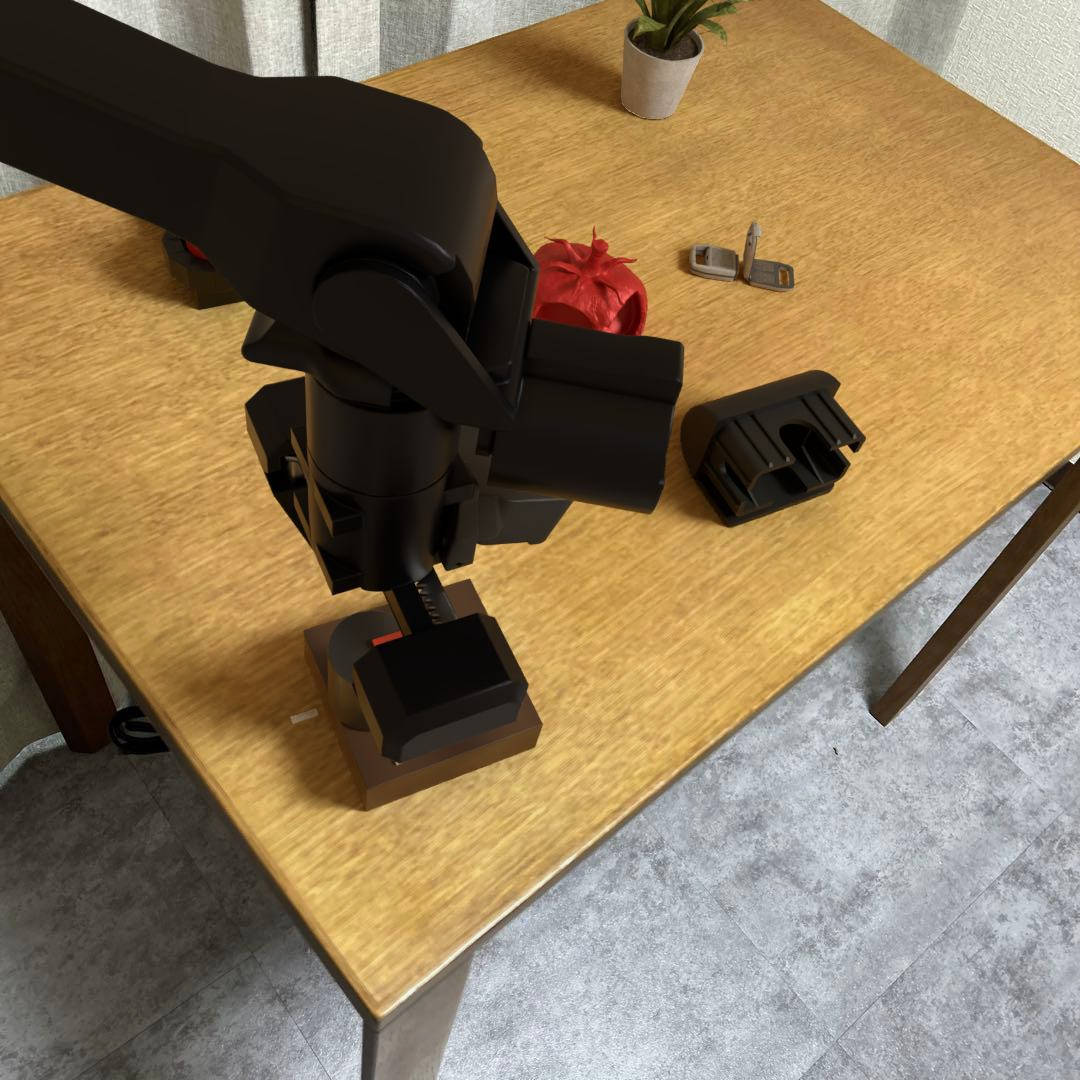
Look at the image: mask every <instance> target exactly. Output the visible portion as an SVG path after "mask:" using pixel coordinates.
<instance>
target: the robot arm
mask: <svg viewBox="0 0 1080 1080" xmlns="http://www.w3.org/2000/svg"><path fill="white" fill-rule="evenodd" d="M0 163H1V164H3V165H5V166H8V167H11V168H14V169H16V170H18V171H20V172H24V173H26V174H28V175H31V176H34V177H36V178H37V179H41V180H43V181H46V182H48V183H51V184H52V185H55V186H58V187H60V188H63V189H65V190H67V191H70V192H73V193H75V194H78V195H80V196H83V197H85V198H87V199H90V200H92V201H94V202H97V203H99V204H102V205H105V206H107V207H110V208H112V209H115V210H117V211H120V212H122V213H125V214H127V215H129V216H132V217H134V218H136V219H139V220H142V221H144V222H146V223H149V224H151V225H154V226H156V227H158V228H160V229H162V230H165V231H168V232H170V233H172V234H174V235H175V236H177V237H179V238H181V239H183V240H185V241H186V242H188V243H190V244H192V245H194V246H196V247H197V248H198V249H199V250H200V251H201V252H202V253H203V255H204V256H205V257H206V258H207V259H208V260H209V261H210V263H211V264H212V265H213V266H214V267H215V268H216V269H217V270H218V272H219V273H220V274H221V275H222V276H223V277H224V278H225V280H226V281H227V282H228V283H229V284H230V285H231V286H232V287H233V289H234V290H235V291H236V292H237V293H238V294H239V295H240V297H241V298H242V299H243V300H244V302H245V303H246V304H247V305H248V306H249V307H250V308H252V309H253V310H255V311H254V313H253V315H252V319H251V321H250V323H249V327H248V329H247V331H246V335H245V337H244V339H243V341H242V345H241V347H240V354H241V356H242V358H243V359H244V360H246V361H247V362H251V363H252V364H253V363H254V364H259V365H264V366H269V367H275V368H279V369H286V370H290V371H297V372H301V373H304V375H302V376H297V377H293V378H289V379H284V380H279V381H274V382H270V383H266V384H264V385H262V386H261V387H260V388H259V389H258V390H257V391H256V392H255V393H254V394H253V395H252V396H251V397H250V398H249V399H248V400H247V401H246V402H245V403H244V404H243V405H244V413H245V424H246V432H247V435H248V437H249V439H250V441H251V445H252V446H253V449H254V451H255V454H256V456H257V460H258V462H259V464H260V468H261V469H262V472H263V475H264V477H265V479H266V481H267V484H268V486H269V488H270V491H271V494H272V497H274V498H275V500H276V502H277V503H278V504H279V506H280V507H281V508H282V510H283V511H284V513H285V514H286V515H287V517H288V519H290V521H291V522H292V524H293V525H294V526H295V528H296V529H297V531H298V532H299V534H300V535H301V536H302V537H303V539H304V540H305V542H306V543H307V544H308V546H309V547H310V549H311V550H312V552H313V553H314V556H315V557H316V558H315V559H316V560H317V563H318V565H319V567H320V570H321V572H322V574H323V578H324V579H325V582H326V584H327V587H328V589H329V591H330V593H331V596H337V595H340V594H343V593H346V592H349V591H353V590H356V589H361V590H362V591H365V592H370V593H371V592H372V593H373V592H374V593H382V594H383V596H384V598H385V601H386V602H387V603H386V604H388V605H389V607H390V609H391V612H392V614H393V616H394V618H395V620H396V623H397V625H398V627H399V629H400V632H401V634H402V636H403V637H400V638H397V639H394V640H391V641H388V642H384V643H381V644H378V645H375V646H374V647H373V648H372V649H370V650H369V651H368V652H367V653H366V654H364V655H363V656H362V657H361V658H359V659H358V660H357V661H356V662H355V663H353V675H352V677H353V681H354V683H352V687H353V690H354V692H355V695H356V697H357V699H358V702H359V704H360V707H361V709H362V712H363V714H364V716H365V719H366V721H367V724H368V726H369V729H370V731H371V733H372V735H373V737H374V740H375V742H376V744H377V747H378V749H379V752H380V754H381V756H382V757H384V758H387V759H389V760H392V761H394V762H397V763H399V764H401V763H403V762H406V761H409V760H412V759H414V758H417V757H420V756H423V755H425V754H428V753H431V752H434V751H436V750H439V749H442V748H444V747H447V746H450V745H453V744H455V743H458V742H461V741H464V740H466V739H469V738H472V737H474V736H477V735H480V734H483V733H485V732H488V731H491V730H494V729H496V728H499V727H502V726H504V725H507V724H510V723H513V722H515V721H516V720H517V718H518V715H519V713H520V710H521V708H522V705H523V702H524V699H525V696H526V693H528V689H529V686H530V684H529V682H528V680H527V678H526V676H525V674H524V671H523V669H522V668H521V666H520V664H519V662H518V660H517V658H516V657H515V656H516V655H515V654H514V651H513V649H512V648H511V646H510V644H509V642H508V640H507V638H506V636H505V634H504V632H503V630H502V628H501V626H500V624H499V622H498V620H497V618H496V617H495V616H491V615H489V614H488V615H489V616H488V615H485V614H481V613H474V614H471V615H468V616H465V617H462V618H459V619H458V617H457V615H456V613H455V611H454V608H453V606H452V604H451V602H450V600H449V598H448V596H447V594H446V592H445V590H444V588H443V584H442V582H441V580H440V577H439V575H438V574H437V572H436V569H435V567H434V566H436V565H440V564H441V566H442V567H443V569H444V571H445V572H450V571H453V570H457V569H460V568H463V567H466V566H471V565H473V564H474V559H475V555H476V549H477V545H479V546H497V545H499V546H500V545H511V544H524V543H525V544H526V543H527V544H528V545H530V546H534V545H535V546H536V545H540V544H543V543H545V541H546V540H547V539H548V538H549V536H550V535H551V534H552V532H553V531H554V529H555V528H556V527H557V525H558V523H560V522H561V519H562V518H563V517H564V515H565V514H566V513H567V511H568V509H569V508H570V507H571V506H572V504H573V503H574V502H576V503H583V504H587V505H593V506H599V507H605V508H609V509H610V508H611V509H614V510H615V509H616V510H622V511H626V512H632V513H638V514H643V515H652V514H653V512H654V511H655V510H656V507H657V506H658V504H659V501H660V499H661V496H662V494H663V490H664V488H665V482H666V467H667V465H666V464H667V454H668V450H669V445H670V441H671V437H672V431H673V424H674V420H675V419H674V418H675V411H676V405H677V402H678V400H679V397H680V395H681V392H682V388H683V387H684V386H683V385H684V371H685V370H684V368H685V367H684V365H685V345H684V344H683V343H682V342H681V341H679V340H675V339H670V338H669V339H668V338H663V337H658V336H652V335H641V336H631V335H620V334H615V333H609V332H604V331H599V330H594V329H589V328H584V327H578V326H573V325H568V324H563V323H558V322H553V321H547V320H542V319H537V318H532V315H533V309H534V303H535V297H536V291H537V284H538V278H539V272H540V265H539V263H538V261H537V260H536V258H535V257H534V253H533V252H532V250H531V249H530V248H529V246H528V244H527V243H526V241H525V239H524V238H523V236H522V235H521V233H520V232H519V230H518V229H517V227H516V226H515V224H514V222H513V221H512V219H511V217H510V216H509V215H508V213H507V212H506V210H505V208H504V207H503V205H502V203H501V202H500V200H499V198H498V186H497V176H496V172H495V171H494V168H493V167H492V164H491V162H490V159H489V157H488V155H487V153H486V151H485V149H484V142H483V140H482V138H481V137H480V136H479V135H478V134H477V133H476V132H475V131H474V130H473V129H472V128H471V127H470V126H469V125H468V124H467V123H466V122H464V121H463V120H461V119H460V118H459V117H457V116H455V115H454V114H453V113H452V112H450V111H448V110H446V109H443V108H442V107H438V106H436V105H433V104H431V103H428V102H425V101H422V100H418V99H415V98H411V97H408V96H405V95H401V94H398V93H394V92H391V91H388V90H385V89H381V88H377V87H374V86H371V85H368V84H364V83H361V82H358V81H354V80H350V79H348V78H345V77H341V76H337V75H300V76H298V75H293V76H291V75H290V76H258V75H253V74H250V73H246V72H242V71H239V70H235V69H233V68H229V67H226V66H222V65H220V64H216V63H214V62H212V61H209V60H207V59H206V58H205V59H204V58H203V57H200V56H199V55H196V54H193V53H192V52H190V51H186V50H185V49H183V48H181V47H178V46H177V45H174V44H171V43H169V42H167V41H164V40H163V39H161V38H158V37H156V36H154V35H153V34H150V33H147V32H145V31H143V30H141V29H138V28H136V27H134V26H132V25H129V24H128V23H125V22H124V21H120V20H118V19H117V18H114V17H112V16H109V15H107V14H106V13H103V12H101V11H99V10H97V9H94V8H92V7H90V6H89V5H88V6H87V5H86V4H83V3H81V2H79V1H76V0H0ZM422 597H425V598H424V599H422ZM425 605H428V606H427V608H426V606H425ZM429 612H433V613H431V614H429ZM432 620H436V621H434V623H433V621H432Z"/></svg>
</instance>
